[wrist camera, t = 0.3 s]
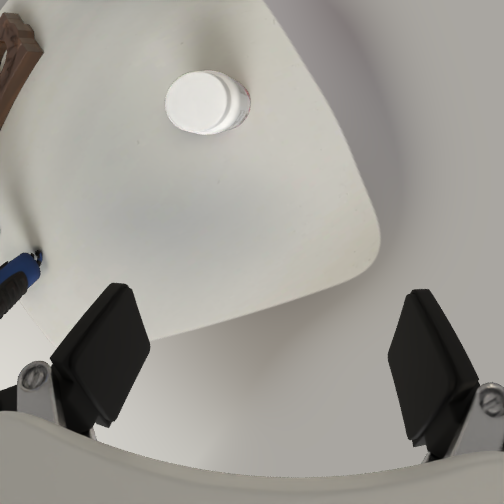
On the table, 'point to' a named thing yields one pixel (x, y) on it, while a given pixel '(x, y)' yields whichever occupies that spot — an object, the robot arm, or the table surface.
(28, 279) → the flashlight
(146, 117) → the table surface
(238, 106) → the pill bottle
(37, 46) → the base pad
